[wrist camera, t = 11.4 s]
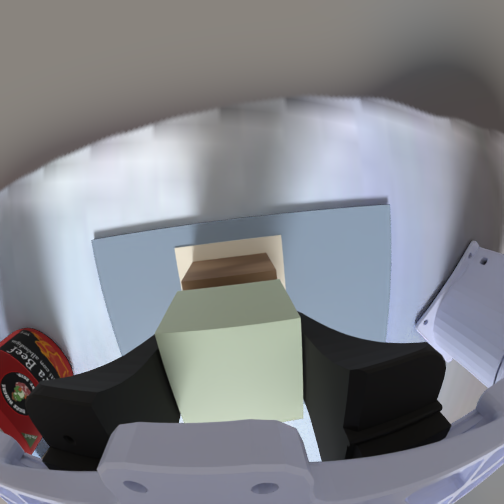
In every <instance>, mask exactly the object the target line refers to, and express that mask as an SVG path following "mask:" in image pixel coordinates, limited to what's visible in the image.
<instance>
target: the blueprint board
mask: <svg viewBox="0 0 504 504" xmlns="http://www.w3.org/2000/svg"><path fill="white" fill-rule="evenodd" d="M91 241H92V246H93V252H94V257H95V262H96V266H97V271H98V275H99V280H100V284H101V288H102V292H103V296H104V300H105V303H106V307H107V311H108V314H109V318H110V321H111V324H112V327H113V331H114V334H115V337H116V340H117V343H118V346H119V349H120V352H121V355H122V356H123V355H125V354H127V353H128V352H130V351H131V350H133V349H134V348H136V347H137V346H139V345H140V344H142V343H143V342H145V341H146V340H147V339H149V338H150V337H151V336H153V335H154V334H155V332H156V330H157V328H158V326H159V324H160V323H161V321H162V319H163V317H164V315H165V313H166V311H167V309H168V307H169V306H170V304H171V302H172V300H173V298H174V296H175V295H176V293H177V291H183V289H182V284H181V281H182V279H183V278H184V276H185V274H186V272H187V271H188V269H189V267H190V265H191V264H192V262H195V261H203V260H211V259H219V258H227V257H235V256H243V255H251V254H259V253H267V255H268V257H269V258H270V260H271V262H272V264H273V265H274V267H275V269H276V273H277V279H280V281H281V283H282V284H283V286H284V288H285V290H286V292H287V294H288V295H289V297H290V299H291V301H292V303H293V305H294V306H295V308H296V310H297V311H299V312H301V313H303V314H305V315H306V316H308V317H310V318H312V319H314V320H315V321H317V322H319V323H321V324H323V325H325V326H327V327H329V328H332V329H334V330H336V331H339V332H341V333H344V334H347V335H350V336H354V337H357V338H361V339H366V340H371V341H377V342H386V334H387V324H388V313H389V299H390V280H391V218H390V205H388V204H385V205H370V206H357V207H345V208H333V209H322V210H311V211H301V212H291V213H281V214H272V215H263V216H254V217H245V218H237V219H229V220H221V221H213V222H205V223H198V224H190V225H183V226H176V227H169V228H162V229H155V230H148V231H142V232H135V233H129V234H123V235H117V236H111V237H105V238H99V239H94V240H91ZM304 403H305V402H304V400H303V404H304ZM180 416H181V415H180Z"/></svg>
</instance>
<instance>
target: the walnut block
mask: <svg viewBox="0 0 504 504" xmlns="http://www.w3.org/2000/svg"><path fill="white" fill-rule="evenodd" d="M276 279H277V273H276V269H275V267H274V265H273V264H272V262H271V260H270V258H269V257H268V255H267V253H259V254H251V255H243V256H235V257H227V258H219V259H211V260H203V261H195V262H192V264H191V265H190V267H189V269H188V271H187V272H186V274H185V276H184V278H183V279H182V281H181V284H182V289H183V290H193V289H202V288H211V287H220V286H228V285H236V284H245V283H253V282H260V281H268V280H276Z"/></svg>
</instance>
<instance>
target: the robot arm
mask: <svg viewBox="0 0 504 504" xmlns="http://www.w3.org/2000/svg"><path fill="white" fill-rule="evenodd" d="M297 312H298V314H299V316H300V317H301V336H302V366H303V400H304V402H305V404H306V407H307V410H308V412H309V415H310V419H311V422H312V426H313V429H314V433H315V437H316V441H317V444H318V448H319V452H320V456H321V460H322V462H309V460H308V457H307V454H306V450H305V447H304V443H303V440H302V439H301V437H300V435H299V433H298V431H297V429H296V428H294V427H291V426H289V425H287V424H284V423H282V422H280V421H278V420H260V419H245V420H235V421H222V422H204V423H179V419H180V415H181V413H180V411H179V408H178V405H177V402H176V400H175V397H174V394H173V391H172V388H171V385H170V383H169V380H168V376H167V373H166V370H165V367H164V364H163V361H162V358H161V354H160V351H159V347H158V344H157V341H156V337H155V334H154V335H153V336H151V337H150V338H149V339H147V340H146V341H145V342H143V343H142V344H140V345H139V346H137V347H136V348H134V349H133V350H131V351H130V352H128V353H127V354H125V355H123V356H122V357H120V358H118V359H116V360H114V361H112V362H110V363H108V364H106V365H103V366H101V367H98V368H96V369H93V370H90V371H88V372H84V373H81V374H77V375H73V376H69V377H64V378H58V379H51V380H42V381H40V382H39V384H38V385H37V386H36V387H35V388H34V389H33V391H32V392H31V393H30V394H29V395H28V397H27V398H26V400H25V406H26V410H27V413H28V415H29V417H30V419H31V421H32V423H33V424H34V425H35V427H36V428H37V430H38V431H39V433H40V434H41V436H42V437H43V438H44V440H45V441H46V442H47V444H48V445H49V446H50V447H49V449H48V451H47V452H46V454H45V456H44V458H43V459H40V458H38V457H35V456H33V455H30V454H28V453H25V452H24V450H23V449H22V447H21V446H20V445H19V443H18V442H17V441H16V440H15V439H14V438H13V437H11V436H9V435H7V434H5V433H3V432H1V431H0V497H1V498H2V499H3V500H4V501H6V502H7V503H8V504H453V503H454V502H456V501H457V500H459V499H460V498H462V497H463V496H464V495H466V494H467V493H468V492H470V491H471V490H472V489H474V488H475V487H476V486H477V485H479V484H480V483H481V482H482V481H484V480H485V479H486V478H487V477H488V476H490V475H491V474H492V473H493V472H494V471H496V470H497V469H498V468H499V467H500V466H501V465H502V464H504V254H502V253H498V252H495V251H492V250H488V249H485V248H482V247H479V245H478V243H477V242H476V241H472V242H471V243H470V245H469V246H468V248H467V250H466V252H465V253H464V255H463V257H462V258H461V260H460V262H459V263H458V265H457V267H456V268H455V270H454V271H453V273H452V275H451V276H450V278H449V279H448V281H447V282H446V284H445V285H444V287H443V288H442V290H441V291H440V293H439V294H438V295H437V297H436V298H435V300H434V301H433V302H432V304H431V305H430V307H429V308H428V309H427V311H426V312H425V313H424V315H423V316H422V317H421V318H420V320H419V321H418V322H417V324H416V327H415V329H416V330H417V331H418V332H419V333H420V334H421V335H422V336H423V337H424V338H425V340H426V341H427V342H428V343H429V344H428V343H427V342H422V343H386V342H377V341H371V340H366V339H361V338H357V337H354V336H350V335H347V334H344V333H341V332H339V331H336V330H334V329H332V328H329V327H327V326H325V325H323V324H321V323H319V322H317V321H315V320H314V319H312V318H310V317H308V316H306V315H305V314H303V313H301V312H299V311H297ZM424 321H425V322H424ZM453 358H454V359H455V360H456V361H457V362H458V363H460V364H461V365H462V366H463V367H464V368H466V369H467V370H468V371H469V372H470V373H471V374H473V375H474V376H475V377H476V378H477V379H478V380H480V381H481V382H482V383H483V384H484V385H485V386H486V387H488V389H487V390H485V391H484V393H483V394H482V395H481V397H480V399H479V401H478V403H477V406H476V409H475V410H473V411H471V412H470V413H468V414H467V415H465V416H463V417H462V418H460V419H458V420H457V421H455V422H453V423H451V424H450V423H449V422H448V421H447V419H446V418H445V417H444V416H443V415H442V414H441V412H440V411H441V410H442V405H441V404H440V403H439V401H438V400H437V398H438V395H439V392H440V389H441V386H442V383H443V380H444V376H445V371H446V363H445V360H446V361H447V362H450V361H452V359H453Z"/></svg>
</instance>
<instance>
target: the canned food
mask: <svg viewBox="0 0 504 504" xmlns="http://www.w3.org/2000/svg"><path fill="white" fill-rule="evenodd" d="M69 376H73V372H72V369H71V366H70V364H69V362H68V360H67V358H66V357H65V355H64V354H63V352H62V351H61V350H60V348H59V347H58V346H57V345H56V344H55V343H54V342H53V341H52V340H51V339H50V338H49V337H47V336H46V335H45V334H43V333H41V332H40V331H37V330H35V329H31V328H24V329H19V330H16V331H14V332H13V333H12V334H10V335H9V336H8V337H6V338H5V339H4V340H2V341H1V342H0V431H1V432H3V433H5V434H7V435H9V436H11V437H13V438H14V439H15V440H16V441H17V442H18V443H19V445H20V446H21V447H22V449H23V450H24V452H25V453H28V454H30V455H32V453H33V452H34V450H35V448H36V447H37V445H38V443H39V442H40V440H41V438H42V436H41V434H40V433H39V431H38V430H37V428H36V427H35V425H34V424H33V423H32V421H31V419H30V417H29V415H28V413H27V410H26V406H25V400H26V398H27V397H28V395H29V394H30V393H31V392H32V391H33V389H34V388H35V387H36V386H37V385H38V384H39V382H40V381H42V380H51V379H58V378H64V377H69Z"/></svg>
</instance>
